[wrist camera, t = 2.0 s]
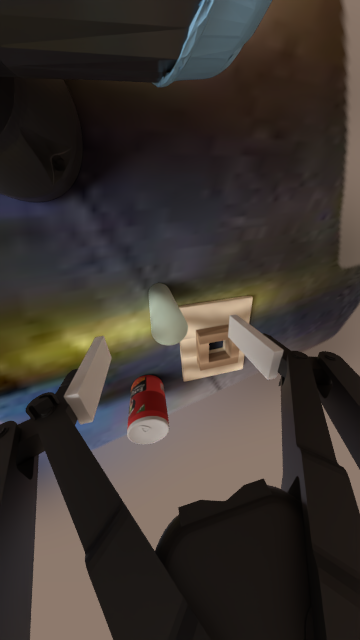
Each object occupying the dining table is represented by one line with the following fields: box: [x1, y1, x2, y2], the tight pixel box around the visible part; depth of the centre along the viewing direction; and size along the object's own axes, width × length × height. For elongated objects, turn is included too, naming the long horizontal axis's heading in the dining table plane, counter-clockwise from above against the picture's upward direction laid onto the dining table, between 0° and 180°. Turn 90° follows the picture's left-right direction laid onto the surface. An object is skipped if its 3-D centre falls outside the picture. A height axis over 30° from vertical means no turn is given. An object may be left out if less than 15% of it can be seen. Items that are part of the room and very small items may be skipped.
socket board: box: [178, 296, 253, 382], centre depth 35 cm, size 20×16×4 cm
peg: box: [149, 283, 188, 345], centre depth 23 cm, size 4×4×14 cm
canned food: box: [127, 375, 169, 444], centre depth 34 cm, size 8×8×11 cm
